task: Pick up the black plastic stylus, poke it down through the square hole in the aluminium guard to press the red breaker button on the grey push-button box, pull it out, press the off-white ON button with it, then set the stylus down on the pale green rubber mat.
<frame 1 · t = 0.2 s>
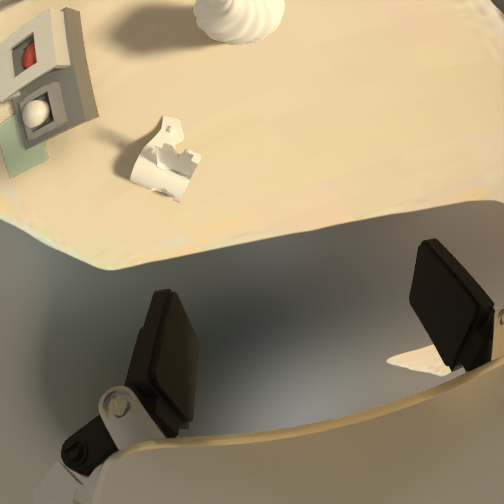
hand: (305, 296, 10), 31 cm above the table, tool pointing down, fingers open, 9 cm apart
mat: (21, 141, 33), on the table
grey push-button box: (54, 77, 28), on the table
soft serve ice cream cone: (237, 29, 28), on the table
on button: (35, 113, 26), point 6 cm above the table, slide at 0.0 cm
plastic part: (172, 156, 37), on the table
breaker button: (37, 55, 23), point 4 cm above the table, slide at 0.0 cm
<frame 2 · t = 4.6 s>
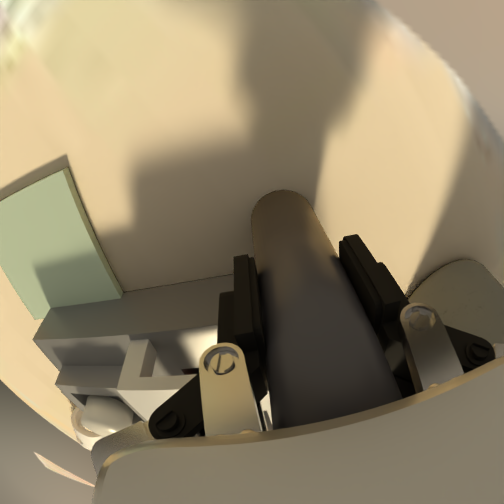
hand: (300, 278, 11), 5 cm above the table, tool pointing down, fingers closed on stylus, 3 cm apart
mat: (45, 256, 16), on the table
grey push-button box: (179, 347, 21), on the table
water bottle: (442, 299, 21), on the table
on button: (107, 418, 16), point 7 cm above the table, slide at 0.0 cm
stylus: (282, 219, 16), on the table, touching gripper
plastic part: (109, 421, 31), on the table
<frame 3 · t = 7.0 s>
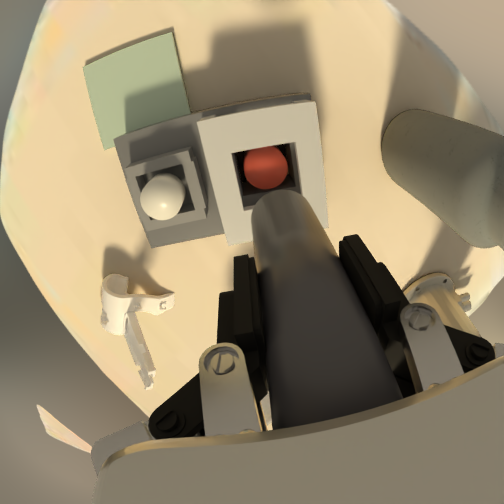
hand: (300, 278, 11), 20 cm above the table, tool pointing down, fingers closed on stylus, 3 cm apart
mat: (135, 91, 24), on the table
grey push-button box: (223, 163, 29), on the table
water bottle: (413, 146, 28), on the table
on button: (163, 196, 24), point 6 cm above the table, slide at 0.0 cm
stylus: (282, 218, 16), point 15 cm above the table, touching gripper
plastic part: (137, 299, 38), on the table
breaker button: (264, 164, 26), point 3 cm above the table, slide at 0.0 cm
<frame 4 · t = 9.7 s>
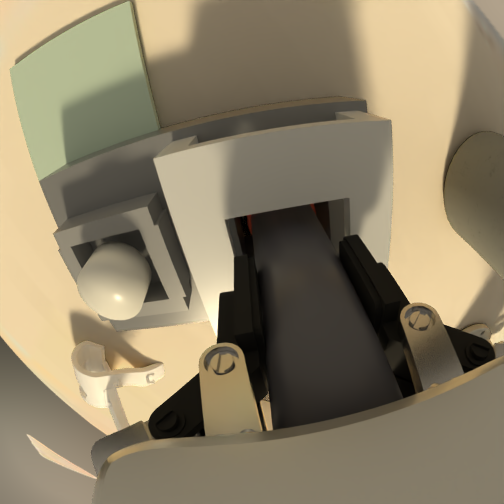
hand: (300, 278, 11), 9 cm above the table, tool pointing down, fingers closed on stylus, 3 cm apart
mat: (77, 97, 14), on the table
grey push-button box: (214, 208, 19), on the table
water bottle: (478, 180, 18), on the table
on button: (114, 281, 14), point 6 cm above the table, slide at 0.0 cm
stylus: (282, 218, 16), point 3 cm above the table, touching breaker button, gripper
plastic part: (119, 366, 29), on the table
breaker button: (278, 208, 17), point 2 cm above the table, slide at 1.6 cm, touching stylus
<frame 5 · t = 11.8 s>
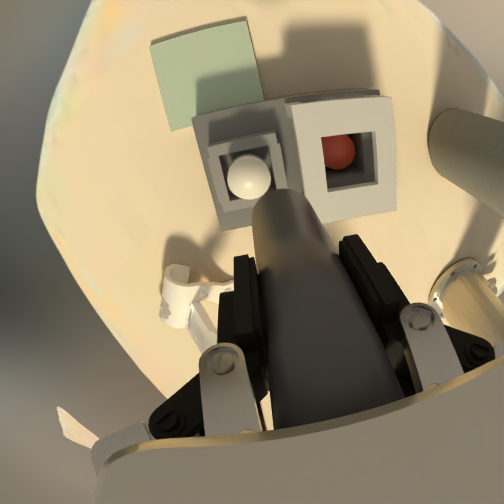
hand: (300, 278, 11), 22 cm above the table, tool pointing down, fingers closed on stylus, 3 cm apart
mat: (207, 74, 25), on the table
grey push-button box: (292, 150, 30), on the table
water bottle: (452, 141, 29), on the table
on button: (248, 176, 24), point 6 cm above the table, slide at 0.0 cm
stylus: (282, 217, 16), point 16 cm above the table, touching gripper
plastic part: (198, 289, 40), on the table
breaker button: (333, 148, 28), point 2 cm above the table, slide at 1.6 cm
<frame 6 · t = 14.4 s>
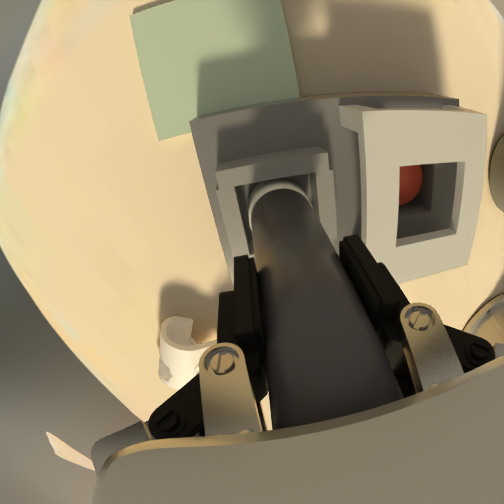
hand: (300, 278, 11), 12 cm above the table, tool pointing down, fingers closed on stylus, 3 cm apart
mat: (214, 55, 16), on the table
grey push-button box: (334, 172, 21), on the table
on button: (279, 211, 17), point 5 cm above the table, slide at 1.2 cm, touching stylus
stylus: (281, 217, 16), point 6 cm above the table, touching gripper, on button
plastic part: (205, 342, 31), on the table
breaker button: (391, 173, 19), point 2 cm above the table, slide at 1.6 cm
when the fingers open (7 cm above the table, at t = 18.9 s): stylus stays where it is, resting on mat.
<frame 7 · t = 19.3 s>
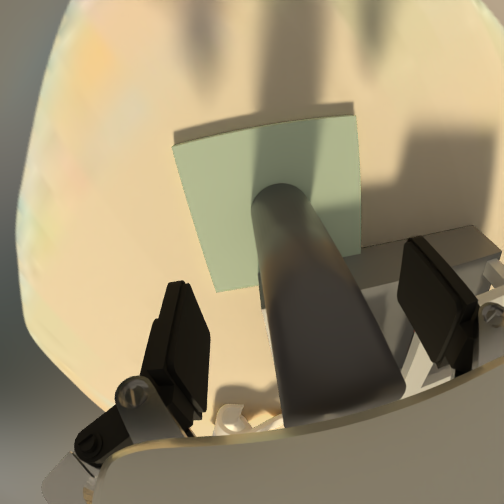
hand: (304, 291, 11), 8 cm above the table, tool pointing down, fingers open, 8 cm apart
mat: (278, 207, 17), on the table
grey push-button box: (377, 305, 22), on the table
stylus: (280, 211, 16), point 1 cm above the table, touching mat
plastic part: (252, 415, 32), on the table
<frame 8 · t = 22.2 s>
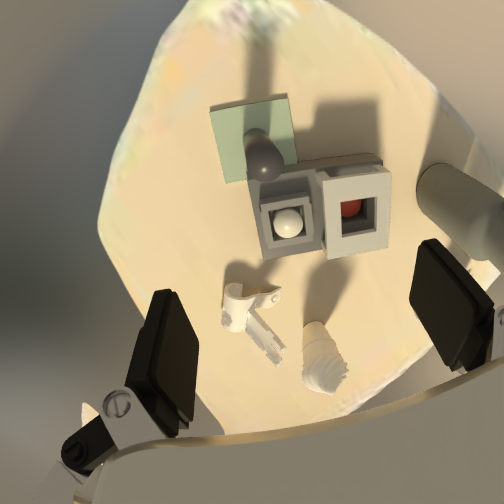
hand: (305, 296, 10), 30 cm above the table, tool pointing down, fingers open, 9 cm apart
mat: (255, 140, 36), on the table
grey push-button box: (315, 199, 41), on the table
water bottle: (436, 187, 40), on the table
soft serve ice cream cone: (312, 327, 56), on the table
on button: (287, 221, 37), point 5 cm above the table, slide at 1.2 cm
stylus: (255, 140, 35), point 1 cm above the table, touching mat
plastic part: (250, 300, 51), on the table
breaker button: (345, 200, 39), point 2 cm above the table, slide at 1.6 cm
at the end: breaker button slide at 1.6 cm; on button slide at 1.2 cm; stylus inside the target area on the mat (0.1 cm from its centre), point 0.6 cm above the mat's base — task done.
